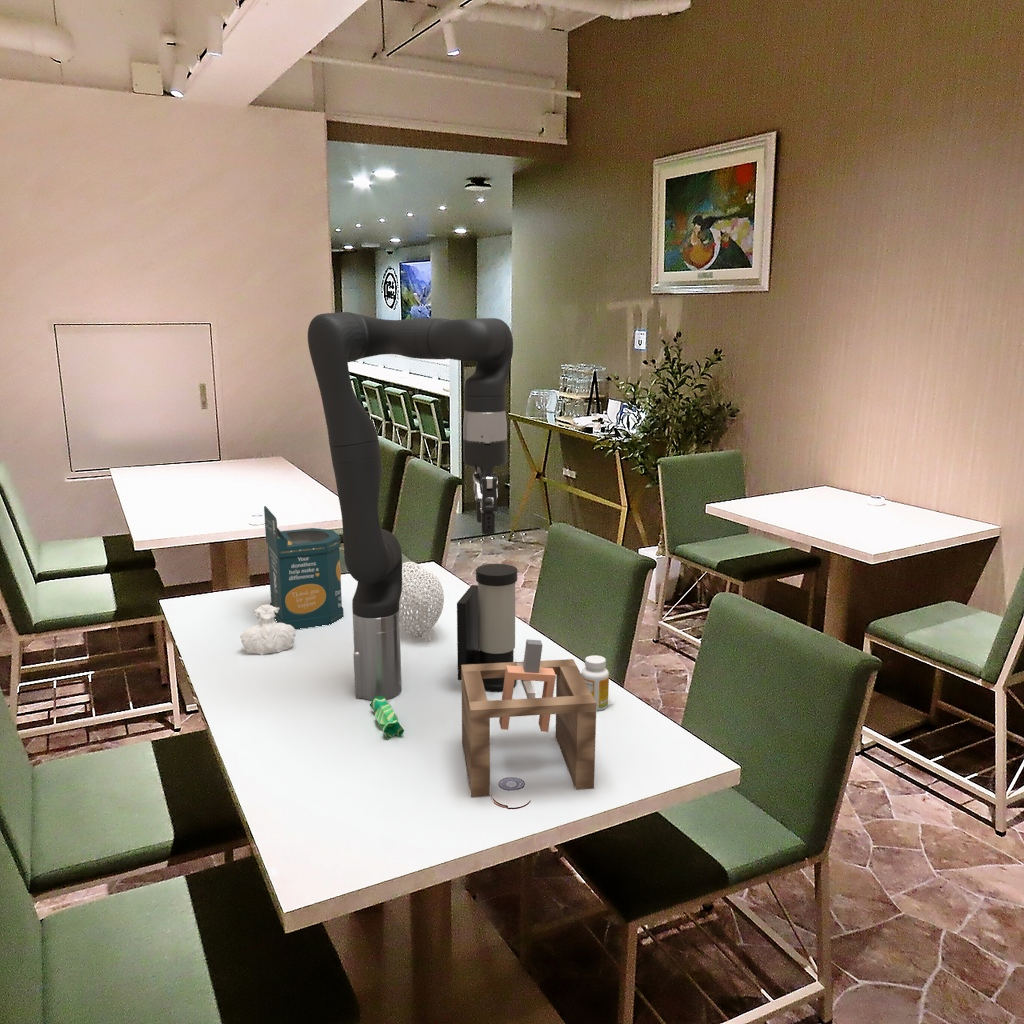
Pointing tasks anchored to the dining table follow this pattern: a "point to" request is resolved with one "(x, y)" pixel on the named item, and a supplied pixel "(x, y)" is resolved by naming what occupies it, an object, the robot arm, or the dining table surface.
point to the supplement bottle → (597, 679)
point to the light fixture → (488, 621)
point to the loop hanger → (530, 673)
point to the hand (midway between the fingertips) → (485, 527)
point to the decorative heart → (420, 600)
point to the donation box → (304, 574)
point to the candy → (386, 717)
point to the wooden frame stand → (568, 705)
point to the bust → (268, 633)
